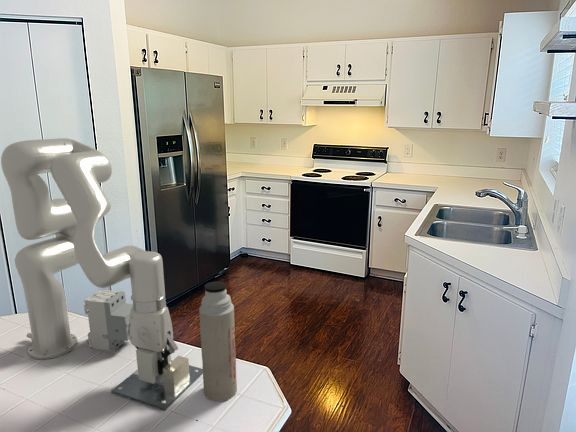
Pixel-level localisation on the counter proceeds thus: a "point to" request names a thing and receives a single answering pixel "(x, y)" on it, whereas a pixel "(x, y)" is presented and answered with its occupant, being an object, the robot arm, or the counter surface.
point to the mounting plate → (160, 384)
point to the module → (148, 364)
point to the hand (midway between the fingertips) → (155, 368)
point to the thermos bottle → (218, 343)
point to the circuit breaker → (108, 319)
